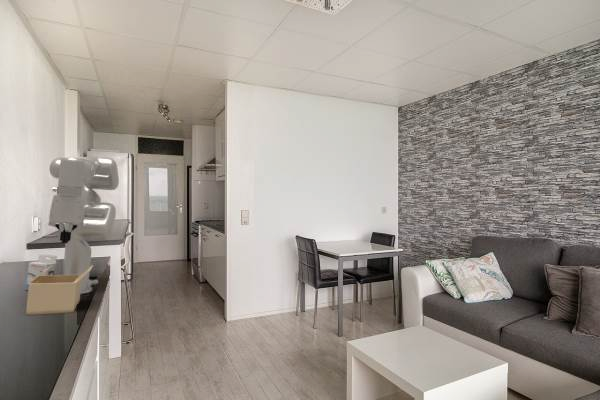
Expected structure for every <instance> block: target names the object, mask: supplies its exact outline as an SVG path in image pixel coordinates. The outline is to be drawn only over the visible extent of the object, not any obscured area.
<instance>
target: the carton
mask: <svg viewBox="0 0 600 400" xmlns="http://www.w3.org/2000/svg"><path fill="white" fill-rule="evenodd" d="M80 277H81V275H63V274H55V275H40V276H39V277H38V278H36V279H35V280H34V281H32V282H31V283H30V284H29V289H28V291H27V300H26V301H27V302H26V311H25V316H31V315H47V314H48V315H49V314H50V315H51V314H65V313H66V314H69V313H74V312H75V310H76V309H77V307H76V306H78V305H79V303H80V301H81V294H80V292H81V281H82V279H81V280H80V281H79V282H77V281H78V279H79V278H80ZM77 304H78V305H77Z"/></svg>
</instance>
